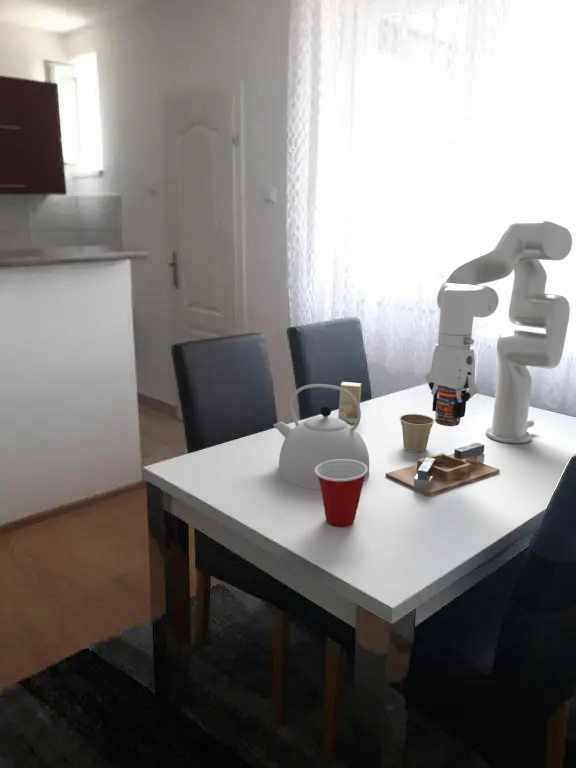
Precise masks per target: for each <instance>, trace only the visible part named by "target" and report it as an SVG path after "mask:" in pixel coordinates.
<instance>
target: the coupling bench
mask: <svg viewBox="0 0 576 768" xmlns="http://www.w3.org/2000/svg"><path fill="white" fill-rule="evenodd" d="M426 457H427V458H433V459H435V468H434V470H433V471H432V473H431V474H430V476H433V477H432V487H431V488H430V490H429V491H428V490H422V489H417V488H414V478H415V476H416V475H417V474H418V469H419V468H420V466H421V465H422V463H423V462H424V460H425V459H426ZM426 457H423V458H420V459H417V461H416V464H414V465H409V466H407V467H403V468H400V469H396V470H392V471H390V472H386V473H385V478H388V479H390V480H392V481H395V482H396V483H399V484H400V485H403V486H405V487H407V488H409V489H411V490H414V491H416V492H418V493H420V494H422V495H425V496H427V497H432V496H435V495H437V494H441V493H443V492H446V491H449V490H452V489H455V488H458V487H461V486H464V485H468V484H470V483H473V482H475V481H478V480H482V479H485V478H488V477H490V476H494V475H496V474H499V473H500V471H501V470H500V469H498V468H497V467H494V466H491V465H488V464H485V463H482V464H479V465H474V464H472V463H469V462H467V461H465V459H462V460H460V459H457V458H455V457H454V453H452V454H446V453H442V452H441V453H438V454H434V455H430V456H426Z"/></svg>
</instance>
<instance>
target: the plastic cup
mask: <svg viewBox="0 0 576 768" xmlns="http://www.w3.org/2000/svg"><path fill="white" fill-rule="evenodd" d="M367 471H368V469H367V466H366V465H365V464H364V463H362V462H359V461H356V460H349V459H336V460H330V461H326V462H323V463H320V464H319V465H318V466H316V467H315V473H316V474H317V476H318V479H319V482H320V486H321V490H320V491H321V498H322V504H323V507H324V508H323V509H324V516H325V520H326V522H327V524H328V525H331V526H332V527H337V528H346V527H350V526H352V525H353V524H354V522H355V520H356V516H357V511H358V508H359V503H360V499H361V493H362V489H363V485H364V483H365V482H364V478H365V475H366V473H367ZM363 482H364V483H363Z"/></svg>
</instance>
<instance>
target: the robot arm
mask: <svg viewBox="0 0 576 768" xmlns="http://www.w3.org/2000/svg"><path fill="white" fill-rule="evenodd" d="M572 246H573V238H572V234H571V232H570V230H569V229H568V228H566V227H564V226H562V225H559V224H558V223H555V222H552V221H549V220H548V221H547V220H521V219H520V220H516V219H515V220H509V221H508V222H505V223H504V224H503V225H501V227H500V228H499V230H498V231H497V233H496V234H495V235H494V237H493V239H492V240H491V241H490V243H489V244H488V246H487V247H486V248H485V250H484V252H483V253H482V254H480V255H478V256H475V257H473V258H471V259H469V260H467V261H466V262H464V263H462V264H460V265H458V266H457V267H455V268H454V269H453V270H452V271H451V272H450V273H449V274H448V275H447V277H446V279H445V280H444V281H443V283H442V284H441V286H440V288H439V290H438V294H437V297H436V303H437V307H438V309H439V311H440V314H439V324H438V325H439V326H438V339H437V343H436V345H435V348H434V350H433V351H434V352H433V356H432V361H431V367H430V371H429V372H428V373H427V374H426V375H425V376H424V380H426V381H425V382H426V383H427V384H428V387H429V389H430V391H431V395H432V396H433V397H432V409H431V410H432V412H436V403H437V392H438V388H439V386H447V387H449V388H451V389H454V390H455V392H456V396H457V401H458V402H455V409H454V418H460V419H461V418H464V417H465V414H466V410H467V409H466V406H467V402H469V400H470V399H472V397H473V396H475V395H476V394H477V393H478V392H479V387H478V385H477V384H476V382H475V381H476V380H475V378H476V377H475V376H476V358H475V357H476V356H475V350H474V347H471V346H473V345H474V343H475V339H474V338H472V336H473V335H472V334H473V325H474V318H487V317H490V316H491V315H493V313H495V311H496V310H497V309H498V306H499V295H498V293H497V291H496V290H495V289H494V288H492V287H490V286H486V285H481V284H486V283H492V282H495V281H498V280H501V279H504V278H507V277H509V276H510V275H511V274H512V272H514V277H513V279H514V280H513V285H512V289H511V290H512V291H511V296H510V302H509V308H508V319H509V321H510V322H511V323H512V324H514V325H517V326H520V327H521V326H522V327H529V328H536V329H537V328H538V329H545V333H543V332H534V331H527V330H517V329H511V330H506V331H504V332H502V333H501V334H500V335H499V337H498V339H497V342H496V343H497V344H496V354H497V355H496V356H497V377H496V384H495V385H496V386H495V395H494V403H493V405H494V406H493V416H492V423H491V424H492V426H491V427H489V428H486V431H485V434H486V436H487V437H488V438H489V439H492V440H494V441H497V442H501V443H508V444H523V443H528V442H530V441H531V440H532V435H531V433H530V432H529V431H528V429H529V428H532V427H534V426H535V421H533V420H528V418H529V417H528V416H529V408H530V399H531V391H532V386H533V384H532V383H533V382H532V376H531V373H530V371H529V369H528V367H532V368H539V369H546V370H547V369H548V370H549V369H550V370H551V369H555V368H556V367H558V366H559V364H560V362H561V360H562V357H563V352H564V347H565V341H566V336H567V331H568V327H569V322H570V312H571V310H570V309H571V308H570V303H569V301H568V299H567V298H566V297H565V296H563V295H560V294H550V293H545V292H546V291H545V290H546V284H547V278H548V275H547V272H546V270H545V268H544V266H543V264H542V263H541V260H544V261H562V260H564V259H566V257H567V256H568V255H569V254H570V253H571V251H572ZM461 391H462V393H461ZM462 394H463V395H462Z"/></svg>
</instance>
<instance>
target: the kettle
mask: <svg viewBox="0 0 576 768" xmlns="http://www.w3.org/2000/svg"><path fill="white" fill-rule="evenodd" d="M312 388H326V389H331V390H337V391H339V392H340V391H342V392H344V393H345V394H347V395H348V396H349V397H350V398H351V399H352V400H353V401H354V403H355V405H356V407H357V412H358V416H357V421H356V423H355V424H354V423H353V426H352V425H351V424H350V423H346V422H345V421H343V420H341V419H338V417H333V416H330V415H331V413H332V408H331V407H330V406H328V405H323V406H322V407H320V411H319V412H320V414H321V415H322V416H314V417H311V418H307V419H306V420H303V422H301V423H299V421H298V419H297V416H296V414H295V411H294V401H295V399H296V396H297V395H298V394H299V393H300V392H302V391H303V390H307V389H312ZM289 411H290V414H291V418H292V420H293V422H294V424H295V427H291V426H289V425H288V424H286V423H285V422H283V421H278V422H276V423H274V424H273V427H275V429H277V431H279V433H280V434H281V435H282V436H283V437H284V438H285V439H284V441H283V442H282V445H281V447H280V452H279V459H278V468H277V469H278V475H279V476H280V478H282V479H283V480H284V481H286V482H288V483H289V484H291V485H294V486H297V487H299V488H304V489H310V490H319V491H321V486H320V482H319V479H318V476H317V474H316V473H315V467H316V466H318V465H319V464H320V463H323V462H326V461H330V460H336V459H349V460H356V461H359V462H362V463H364V464H365V465H366V466H367V469H368V471H367V473H366V475H365V478H364V482H363V484H364V483H365V482H366V481H368V479H369V478H370V455H369V450H368V447H367V445H366V442H365V440H364V438H363V437H362V436H361V434H360V433H359V431H357V430H356V429H357V427H358V426H359V424H360V421H361V417H362V411H361V406H359V403H358V401H357V400H356V398H355V397H354V396H353V395H352V394H351V393H350V392H349V391H347V390H345V389H343V388H341V387H340V386H337V385H333V384H328V383H327V384H325V383H312V384H305V385H304V386H301V387H299V388H298V389H296V390H295V391H294V392H293V394H292V396H291V398H290V402H289Z"/></svg>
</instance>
